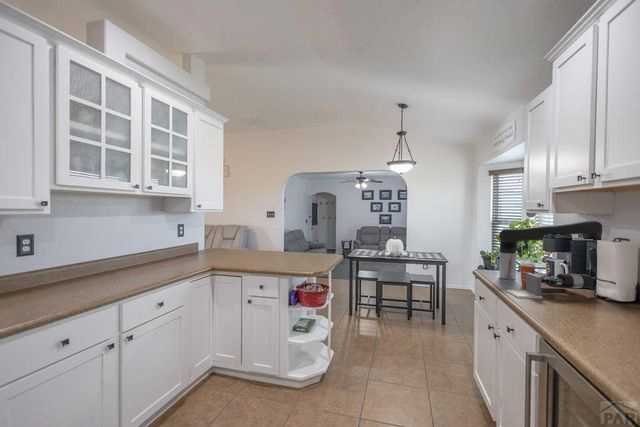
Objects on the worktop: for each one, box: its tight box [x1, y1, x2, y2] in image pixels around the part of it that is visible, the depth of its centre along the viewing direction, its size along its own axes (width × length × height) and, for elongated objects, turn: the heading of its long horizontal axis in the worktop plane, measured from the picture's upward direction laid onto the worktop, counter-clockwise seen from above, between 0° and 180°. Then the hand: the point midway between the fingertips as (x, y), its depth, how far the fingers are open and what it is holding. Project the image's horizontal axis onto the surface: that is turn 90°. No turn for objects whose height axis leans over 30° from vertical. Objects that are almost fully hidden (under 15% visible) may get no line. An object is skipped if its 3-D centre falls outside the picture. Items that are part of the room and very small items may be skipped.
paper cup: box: [519, 261, 536, 288], centre depth 183 cm, size 8×8×14 cm
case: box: [541, 287, 587, 301], centre depth 164 cm, size 16×15×2 cm
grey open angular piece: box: [505, 273, 543, 299], centre depth 166 cm, size 12×12×11 cm
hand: (535, 280), depth 165 cm, fingers closed
